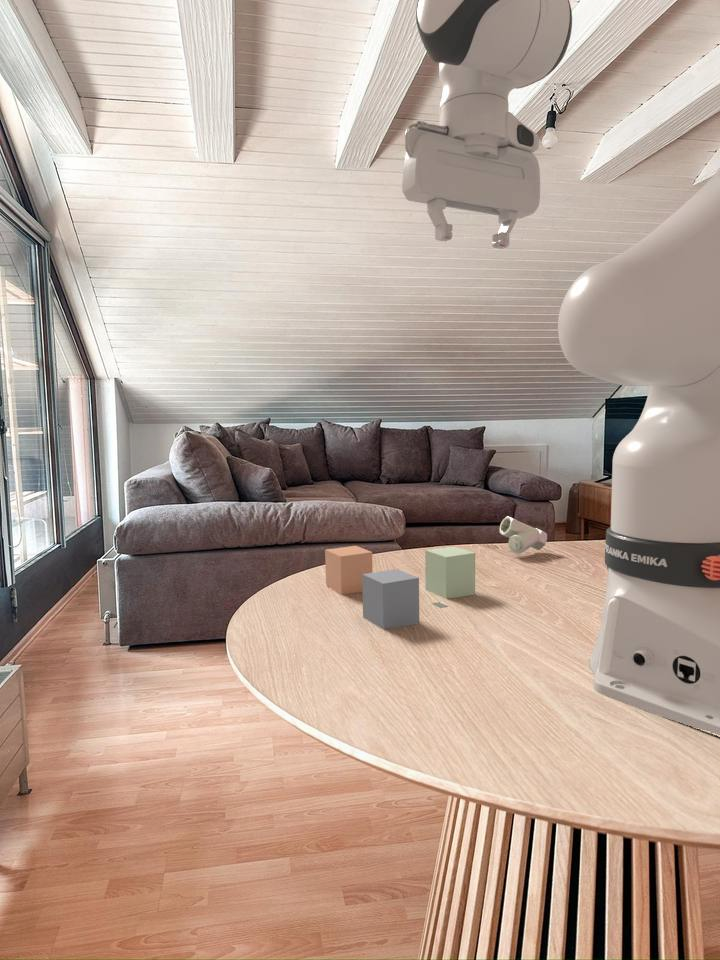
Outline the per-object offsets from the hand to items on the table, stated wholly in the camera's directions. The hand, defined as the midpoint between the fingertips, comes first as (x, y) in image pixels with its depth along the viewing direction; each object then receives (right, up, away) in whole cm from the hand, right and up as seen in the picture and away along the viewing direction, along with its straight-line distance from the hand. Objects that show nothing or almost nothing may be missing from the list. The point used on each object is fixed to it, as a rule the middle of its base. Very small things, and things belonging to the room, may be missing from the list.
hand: (473, 243), depth 85 cm
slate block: (-11, -49, -6) cm, 50 cm away
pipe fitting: (+15, -44, +27) cm, 54 cm away
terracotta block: (-17, -47, +8) cm, 51 cm away
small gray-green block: (-4, -48, 0) cm, 48 cm away
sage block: (-2, -47, +6) cm, 48 cm away
